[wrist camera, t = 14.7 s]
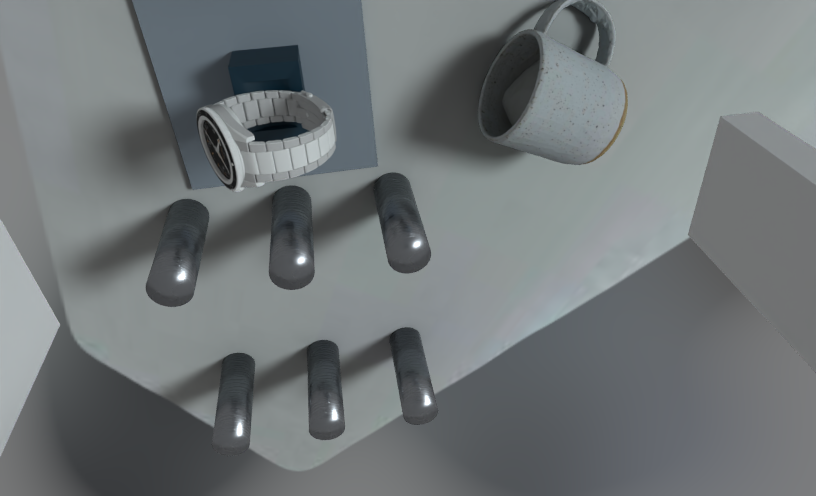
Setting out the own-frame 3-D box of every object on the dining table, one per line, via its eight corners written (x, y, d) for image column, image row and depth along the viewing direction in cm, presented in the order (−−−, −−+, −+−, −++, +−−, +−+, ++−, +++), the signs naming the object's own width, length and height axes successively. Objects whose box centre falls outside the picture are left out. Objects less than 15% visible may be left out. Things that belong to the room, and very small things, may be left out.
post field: (163, 201, 45) (139, 275, 38) (409, 170, 47) (430, 235, 40) (226, 377, 57) (217, 458, 50) (420, 347, 59) (438, 421, 52)
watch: (201, 53, 39) (174, 124, 30) (324, 42, 40) (333, 108, 31) (221, 132, 42) (202, 216, 34) (334, 120, 43) (344, 199, 34)
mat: (131, -10, 37) (129, -8, 36) (357, -32, 38) (358, -30, 38) (193, 186, 45) (192, 189, 45) (377, 163, 46) (377, 166, 46)
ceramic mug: (556, 144, 48) (595, 192, 42) (466, 112, 45) (495, 158, 39) (630, 15, 43) (688, 47, 37) (534, -30, 40) (580, -3, 34)
